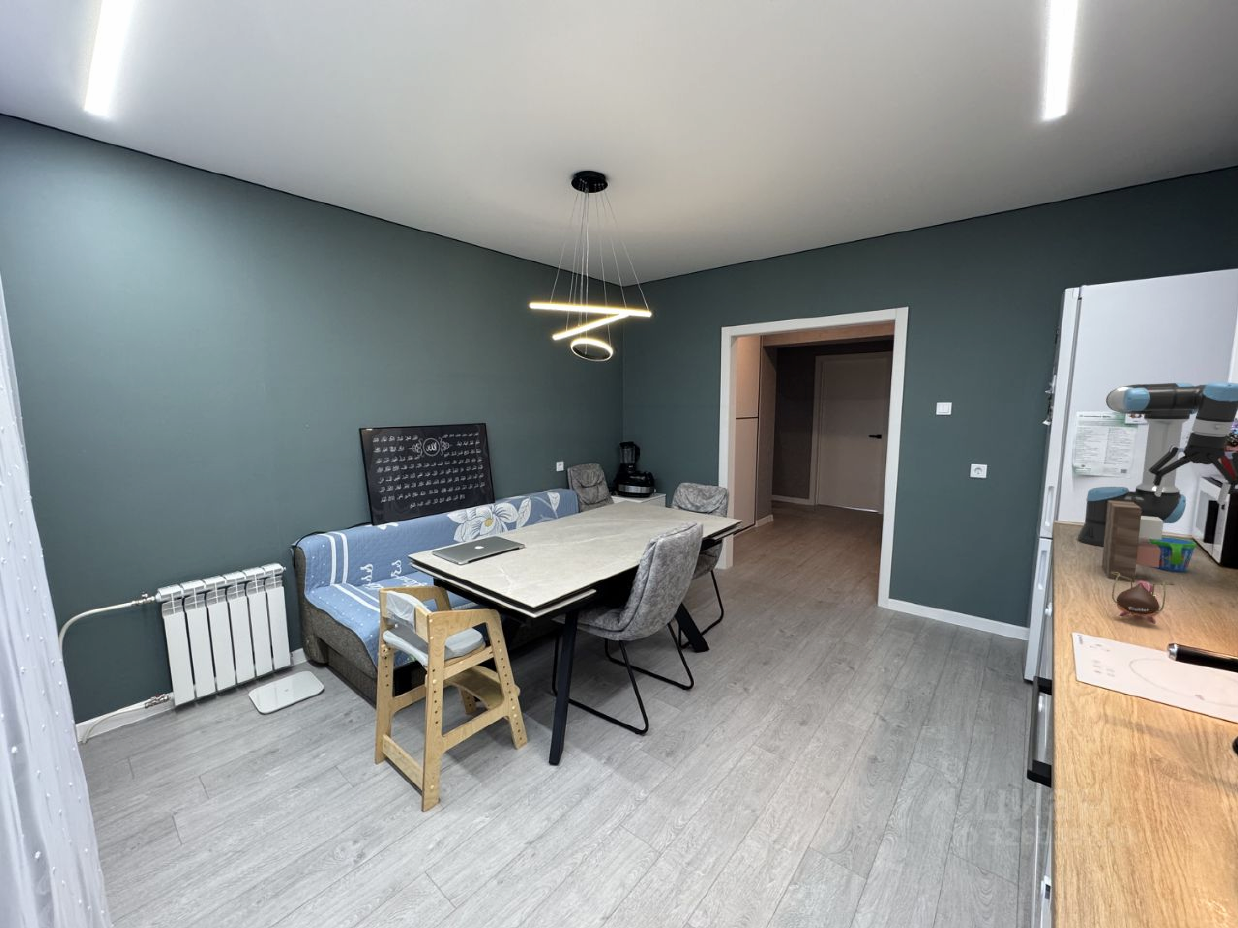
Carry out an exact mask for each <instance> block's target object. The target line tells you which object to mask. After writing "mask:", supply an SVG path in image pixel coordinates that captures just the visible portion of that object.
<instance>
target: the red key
mask: <svg viewBox="0 0 1238 928" xmlns="http://www.w3.org/2000/svg"><path fill="white" fill-rule="evenodd" d="M1159 559H1160V548H1159V547H1158V546H1157V545H1156V544H1151V543H1148V542H1147V543H1145V542H1138V552H1137V562H1136V566H1145V567H1153V568H1157V567H1159Z"/></svg>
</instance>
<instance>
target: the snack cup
mask: <svg viewBox="0 0 1238 928" xmlns="http://www.w3.org/2000/svg"><path fill="white" fill-rule="evenodd" d="M1149 544H1156V545H1157V546H1158V547H1159V548H1160V559H1159V567H1156V568H1157V569H1160V570H1163V571H1170V572H1177V573H1180V572H1181V573H1183V572H1184V573H1185V572H1186V571H1187V569H1189V565H1190V562H1191V559H1192V556H1193V552H1194V550H1195V549H1196V548H1197V543H1196V542H1194V541H1191V540H1187V539H1182V538H1174V537H1164V536H1162V540H1158V539H1149Z"/></svg>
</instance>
